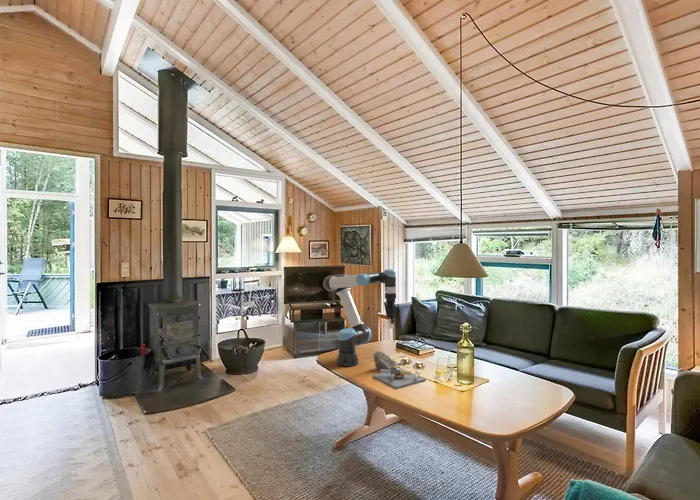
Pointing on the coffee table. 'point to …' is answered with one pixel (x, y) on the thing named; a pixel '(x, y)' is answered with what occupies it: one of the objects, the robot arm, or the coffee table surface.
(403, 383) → the stand board
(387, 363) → the rock
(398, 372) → the cam capstan
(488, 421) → the coffee table surface
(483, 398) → the coffee table surface
